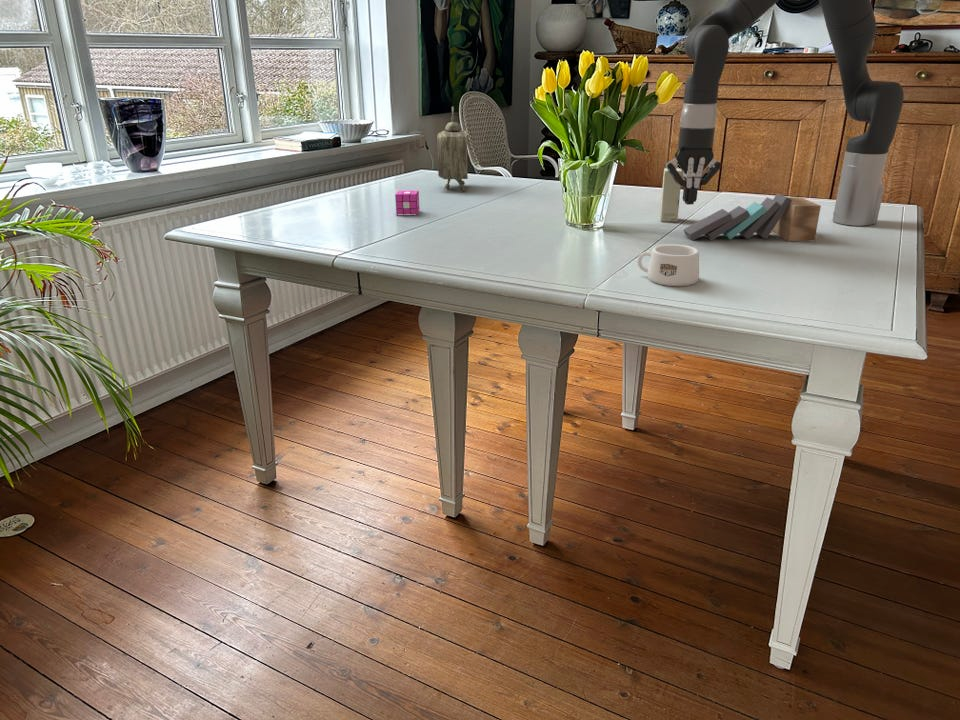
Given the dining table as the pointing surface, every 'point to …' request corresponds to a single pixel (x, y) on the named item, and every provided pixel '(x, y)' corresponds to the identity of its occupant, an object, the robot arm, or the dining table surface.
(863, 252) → the dining table surface
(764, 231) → the domino
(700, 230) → the domino
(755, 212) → the domino
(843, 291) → the dining table surface
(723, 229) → the domino
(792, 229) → the end block
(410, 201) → the puzzle toy
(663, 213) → the box
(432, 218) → the dining table surface
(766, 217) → the domino
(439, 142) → the tabletop clock
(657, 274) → the mug
